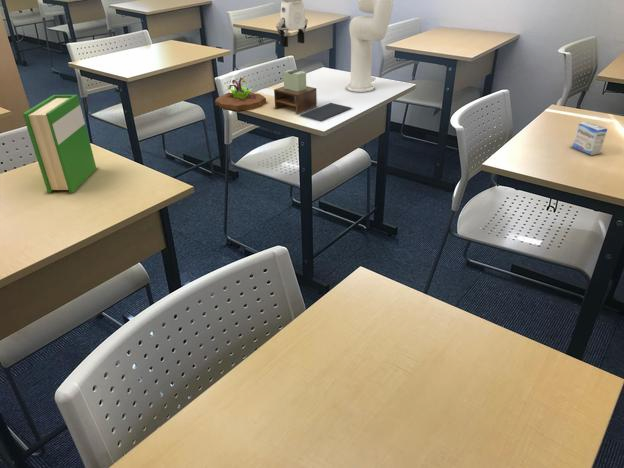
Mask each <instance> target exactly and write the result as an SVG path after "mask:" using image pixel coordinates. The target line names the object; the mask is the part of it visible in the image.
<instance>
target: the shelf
mask: <svg viewBox="0 0 624 468" xmlns="http://www.w3.org/2000/svg"><path fill="white" fill-rule="evenodd" d="M273 93H274V95H273V97H274V98H273V99H274V109H280V108H283V107H285V106H291V107H295V108H296V111H295V112H296V115H301V114H303V113H306V112H308V111H311V110H314V109H316V108H318V105H317V103H318V100H317V88H316V87H312V86H308V85H306V89H305V90H302V91H299V92H297V91H293V90H288V89H284V85H283V86H281V87H278V88H274V89H273Z"/></svg>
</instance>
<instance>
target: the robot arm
mask: <svg viewBox="0 0 624 468" xmlns="http://www.w3.org/2000/svg"><path fill="white" fill-rule="evenodd" d="M280 3H281V5H280V14H279V15H280V16H279V17H280V19H279V21H278V22H277V23H276V24H275V28H276V30H277V33H278V35H279V36H280V46H281V47H284V48H288V47H289V36H288V33H289V32H290V31H292V32H293V31H297V34H296V35H297V43H298V44H305V33H306V29H307V28H308V27H307V26H308V22H309V19H307V18H306V11H305V5H304V1H303V0H281V2H280ZM393 6H394V1H393V0H357V8H358V10H359V11H360V12H362V13H365V14H371V15H373V16H369V15H357V16H354V17H353V18H352V19H351V20H350V23H349V27H348V30H349V37H350V44H351V45H350V83H348V84H347V86H346V90H348V91H349V92H355V93H367V92H371V91H373V90H374V89H375V85H374V84H373V82H375V81H376V80H377V78H376V77H375V76H372V67H373V66H372V64H373V47H372V46H373V44H372V42H375V43H378V42H381V41H383V40H384V38H385V37H386V35H387V31H388V28H389V24H390V20H391V15H392V12H393V8H394V7H393Z"/></svg>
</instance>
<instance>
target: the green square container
mask: <svg viewBox="0 0 624 468" xmlns="http://www.w3.org/2000/svg"><path fill="white" fill-rule="evenodd" d="M283 86H284V89H288V90H293V91H297V92H299V91H302V90H305V89H306V86H307V72H306V71H303V70H301V69H298V68H296V69H293V68H290V69H287V70H284V71H283Z"/></svg>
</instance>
